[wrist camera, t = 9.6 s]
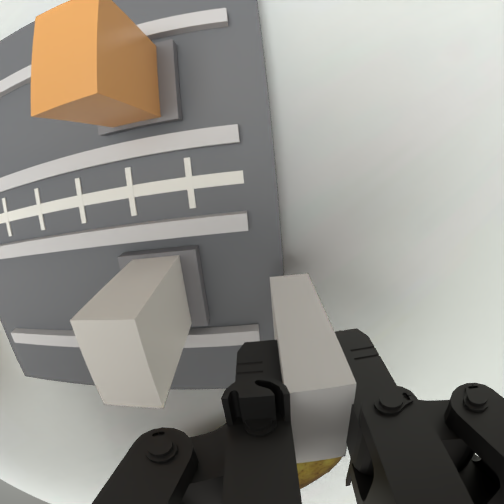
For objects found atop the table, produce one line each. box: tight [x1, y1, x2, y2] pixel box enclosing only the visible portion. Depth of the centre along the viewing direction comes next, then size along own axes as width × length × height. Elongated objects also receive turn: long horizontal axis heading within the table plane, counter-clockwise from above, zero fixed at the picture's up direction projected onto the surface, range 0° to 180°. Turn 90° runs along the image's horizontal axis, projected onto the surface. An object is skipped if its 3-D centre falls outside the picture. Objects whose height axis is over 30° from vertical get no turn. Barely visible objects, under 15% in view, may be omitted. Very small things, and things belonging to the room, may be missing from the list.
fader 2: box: [70, 245, 210, 408], centre depth 13 cm, size 4×4×7 cm
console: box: [0, 0, 284, 389], centre depth 15 cm, size 20×24×3 cm
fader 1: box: [31, 0, 182, 136], centre depth 10 cm, size 4×4×7 cm
